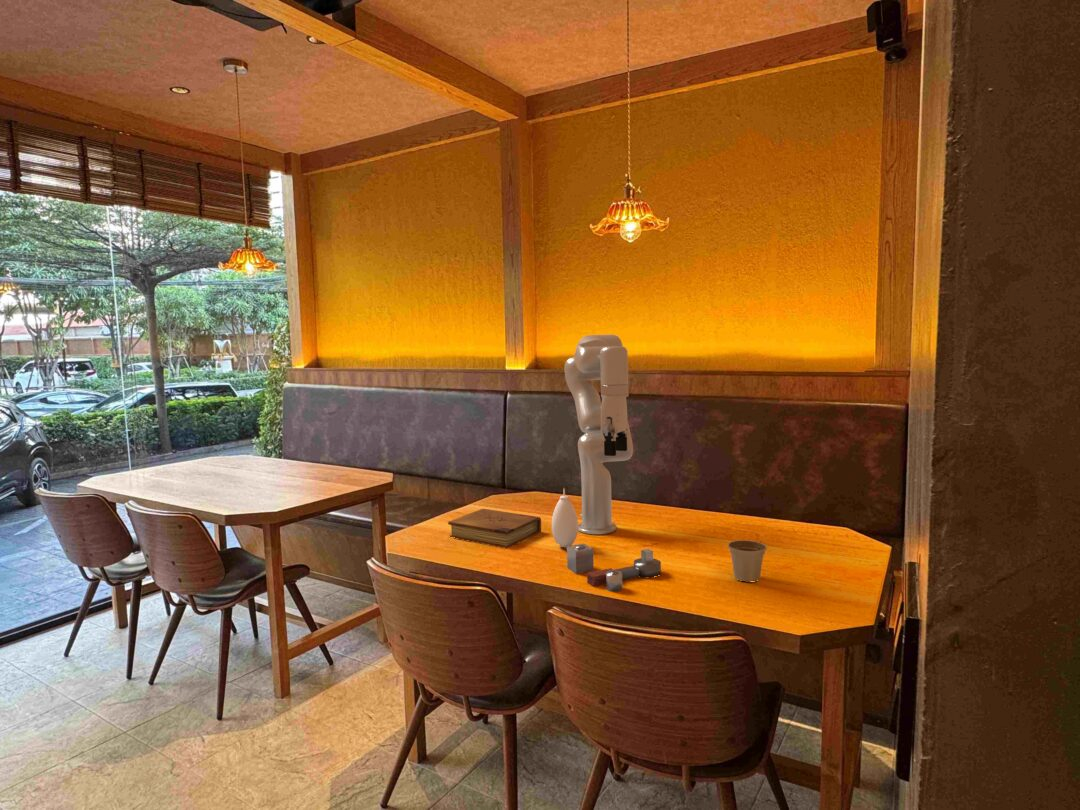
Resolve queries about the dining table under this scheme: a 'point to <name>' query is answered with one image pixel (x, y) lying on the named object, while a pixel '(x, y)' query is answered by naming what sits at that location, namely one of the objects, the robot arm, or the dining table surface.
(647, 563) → the ratchet
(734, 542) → the flower pot
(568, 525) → the white air blower bulb
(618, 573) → the socket
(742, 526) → the dining table surface
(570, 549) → the socket
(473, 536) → the diary
